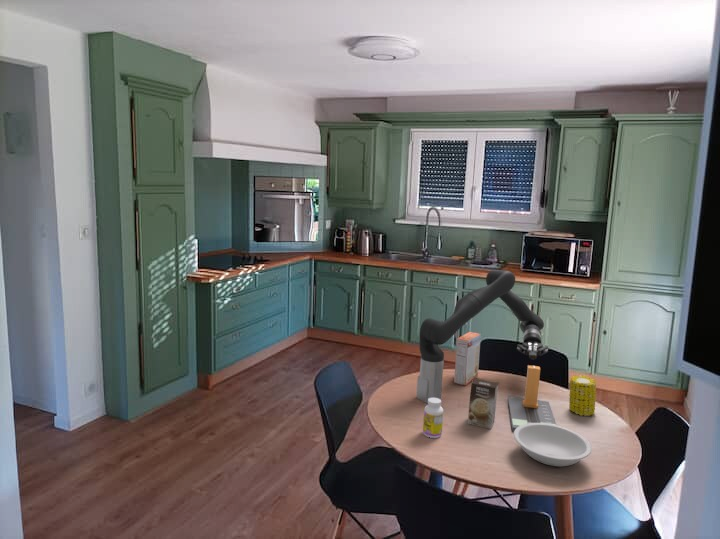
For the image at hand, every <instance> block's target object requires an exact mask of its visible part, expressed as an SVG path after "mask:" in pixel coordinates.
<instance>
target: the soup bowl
mask: <svg viewBox="0 0 720 539" xmlns="http://www.w3.org/2000/svg"><path fill="white" fill-rule="evenodd" d="M513 438H514V440H515V442H516V443H517V444H518V445H520V447H521V449H522V450H523V451H524V452H525V453H526V454H527V455H528V457H531V458H532V459H534V460H535V461H537V462H539V463H542V464H544V465H548V466H551V467H567V466H571V465H574V464H576V463H578V462H580V461H581V460H583V459H586V458H587V457H589V456H590V455H591V454H592V451H593V450H592V445H591V443H590V442H589V440H588V439H587V438H586V437H584V436H583V435H581V434H580V433H578V432H577V431H575V430H572V429H570V428H567V427H564V426H560V425H559V424H558V425H557V424H556V425H553V424H547V423H528V424H523V425H521V426H519V427H517V428H516V429H515V431H514V432H513Z"/></svg>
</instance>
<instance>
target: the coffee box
mask: <svg viewBox="0 0 720 539" xmlns="http://www.w3.org/2000/svg"><path fill="white" fill-rule="evenodd" d="M470 383H471V384H470V385H471V386H470V393H469V394H470V395H469V403H468V404H469V406H468V416H467V424H468V425H473V426H478V427H481V428H485V429H489V430H492V428H493V426H494V423H495V418H496V409H497V398H498V389H499V388H498V387H499V382H498V381H497V382H496V381H492V380H488V379H484V378H479V377H477V378H474V380H473V381H471V382H470Z"/></svg>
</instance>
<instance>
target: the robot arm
mask: <svg viewBox="0 0 720 539" xmlns="http://www.w3.org/2000/svg"><path fill="white" fill-rule="evenodd" d="M485 282H486V286H484V287H483V286H482V287H480V288H477V289H474V290H472V291H470V292H468V293H466V294H465V295H463V296H462V297H461V298H460V299H458V301H457V302H456V304H455V306H454V310H453V314H452V315H451V316H449V317H448V318H447V319H446V320H443V321H441V320H437V319H435V318H433V317H432V318H426V319H424V320H423V321H422V322H421V324H420V328H419V353H420V364H419V366H420V367H419V375H417V381H416V382H417V383H416V395H415V396H416V397H417V398H416V399H418V400H420V401H421V402H422V403H423V402H424V404H428V399H429V398H438V399H440V400H441V401H442V392H443V391H442V389H443V388H442V386H443V373H444V362H445V361H444V360H445V359H444V358H445V353H444V351H443V350H442V349H441V348H440V346H442V345H444V344H446V343H447V342H448V341H449V340H450V339H451V338H452V337H453V336H454V335H455V334H456V333H457V332H458V331H459V330H460V329H462V327H463V326H465V325H466V324H467V323H468V322H469V321H470V320H472V318H474V317H476V316H477V315H478V314H479V313H481V311H483V310H484V309H485V308H487V307H488V306H490V304H492V303H493V302H494V301H495V300H497V299H498V298H499V299H500V300H501V301H502V302H503V303H504V304H505V305H506V307H508V308H509V310H510V311H511V312H512V313H513V315H514V316H515V317H516V319H517V320H518V321H520V323H519V328H520V331H521V332H522V333H523V337H522V341H523V342H522V344H519V343H518V344H516V345H517V347H516V351H518V352H519V353H521V354H523V355H525V356H528V358H529V359H530V360H536V359H537V357H541V356H543V355H545V354H547V353H548V352H549V346H548V345H543V344H542V336H541V330H542V329H543V328H544V326H545V323H544V321H543V319H542V318H541V317H540V316H539V315H538V314H537V313H535V312H533V310H531V308H530V307H529V306H528V304H526V302H525V301H524V300H523V299H522V298H521V297H519V295H517V294H515V293H514V292H513V291H512V289H513V288H514V287H515V284H516V276H515V274H514V273H512V271H509V270H503V269H500V270H499V269H493V270H490V271H489V272H488V273H487V274H486V277H485Z"/></svg>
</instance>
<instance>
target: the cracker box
mask: <svg viewBox="0 0 720 539" xmlns="http://www.w3.org/2000/svg"><path fill="white" fill-rule="evenodd" d="M481 338H482V337H481V333H478V332H474V331H469V332H467V333H464V334H463V335H461V336H459V337H458V338H456V345H455V346H456V348H455V365H454V380H453V383H454V384H458V385H460V386H461V385H462V386H467V385H469V384H470V383H472V382H473V380H474V378H479V377H478V376H479V366H480V365H479V364H480V350H481Z"/></svg>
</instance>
